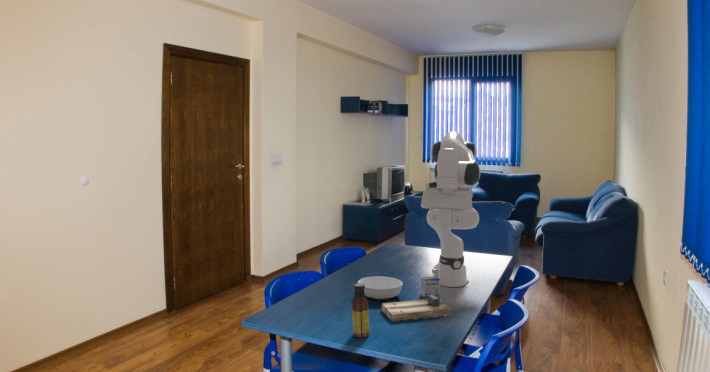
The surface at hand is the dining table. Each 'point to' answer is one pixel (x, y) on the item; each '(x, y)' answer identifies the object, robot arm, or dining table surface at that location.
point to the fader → (433, 300)
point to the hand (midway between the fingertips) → (445, 220)
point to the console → (414, 310)
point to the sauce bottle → (360, 312)
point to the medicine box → (430, 286)
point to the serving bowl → (381, 287)
